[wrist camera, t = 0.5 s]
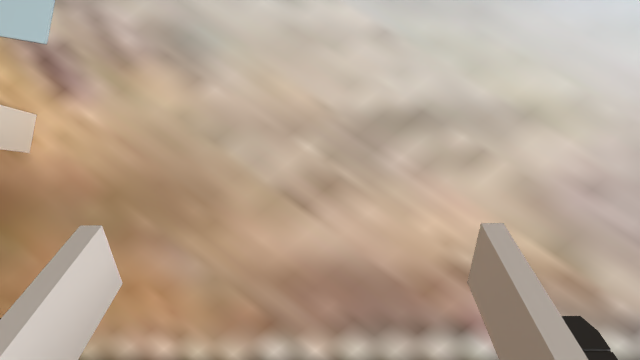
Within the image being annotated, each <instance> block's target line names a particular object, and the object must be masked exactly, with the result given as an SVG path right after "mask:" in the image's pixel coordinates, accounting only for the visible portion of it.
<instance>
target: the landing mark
mask: <svg viewBox="0 0 640 360" xmlns="http://www.w3.org/2000/svg"><path fill="white" fill-rule="evenodd" d="M54 3H55V0H0V37H6V38H12V39H18V40H24V41H29V42H35V43H41V44H47V40H48V35H49V30H50V24H51V19H52V14H53V8H54Z"/></svg>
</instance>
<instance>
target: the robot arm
mask: <svg viewBox="0 0 640 360" xmlns="http://www.w3.org/2000/svg"><path fill="white" fill-rule="evenodd" d="M122 284H123V283H122V280H121V278H120V275H119V272H118V269H117V266H116V264H115V261H114V258H113V255H112V252H111V250H110V247H109V244H108V241H107V238H106V236H105V233H104V230H103V227H102V226H79V228H78V229H77V230H76V231H75V232H74V234H73V235H72V236H71V237H70V238H69V239H68V241H67V242H66V243H65V244H64V245H63V246H62V248H61V249H60V250H59V251H58V252H57V254H56V255H55V256H54V257H53V258H52V259H51V261H50V262H49V263H48V264H47V265H46V266H45V268H44V269H43V270H42V271H41V272H40V274H39V275H38V276H37V277H36V278H35V279H34V281H33V282H32V283H31V284H30V285H29V286H28V288H27V289H26V290H25V291H24V292H23V294H22V295H21V296H20V297H19V298H18V299H17V301H16V302H15V303H14V304H13V305H12V306H11V308H10V309H9V310H8V311H7V312H6V314H5V315H4V316H3V317H2V318H0V360H78V359H79V357H80V355H81V354H82V352H83V350H84V348H85V347H86V345H87V343H88V342H89V340H90V338H91V336H92V335H93V333H94V331H95V330H96V328H97V326H98V324H99V323H100V321H101V319H102V318H103V316H104V314H105V313H106V311H107V309H108V307H109V306H110V304H111V302H112V301H113V299H114V297H115V295H116V294H117V292H118V290H119V289H120V287H121V285H122ZM468 285H469V287H470V290H471V292H472V295H473V297H474V299H475V302H476V304H477V307H478V309H479V312H480V314H481V316H482V319H483V321H484V324H485V326H486V329H487V331H488V333H489V336H490V338H491V341H492V343H493V346H494V348H495V350H496V353H497V355H498V358H499V360H618V359H617V358H616V356H615V355H614V353H613V352H611V351H610V348H609V346H608V345H607V343H606V342H605V340H604V339H603V337H602V336H601V335H600V333H599V332H598V331H597V330H596V329H595V328H594V327H593V326H591V325H590V324H589V323H588V322H587V321H585V320H584V319H583V318H582V317H581V316H561V315H560V313H559V312H558V310H557V308H556V307H555V305H554V304H553V302H552V300H551V299H550V297H549V296H548V294H547V292H546V291H545V289H544V288H543V286H542V284H541V283H540V281H539V280H538V278H537V276H536V275H535V273H534V271H533V270H532V268H531V267H530V265H529V263H528V262H527V260H526V259H525V257H524V255H523V254H522V252H521V251H520V249H519V247H518V246H517V244H516V243H515V241H514V239H513V238H512V236H511V235H510V233H509V231H508V230H507V228H506V226H505V225H504V223H481V225H480V230H479V234H478V238H477V243H476V247H475V251H474V256H473V260H472V265H471V269H470V273H469V278H468Z"/></svg>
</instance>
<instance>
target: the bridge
mask: <svg viewBox="0 0 640 360" xmlns="http://www.w3.org/2000/svg"><path fill="white" fill-rule="evenodd" d="M36 116H37V115H36V114H32V113H29V112H25V111H21V110H18V109H14V108H10V107H6V106H3V105H0V149H3V150H10V151H18V152H26V153H30V148H31V143H32V138H33V132H34V127H35V122H36Z"/></svg>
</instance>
